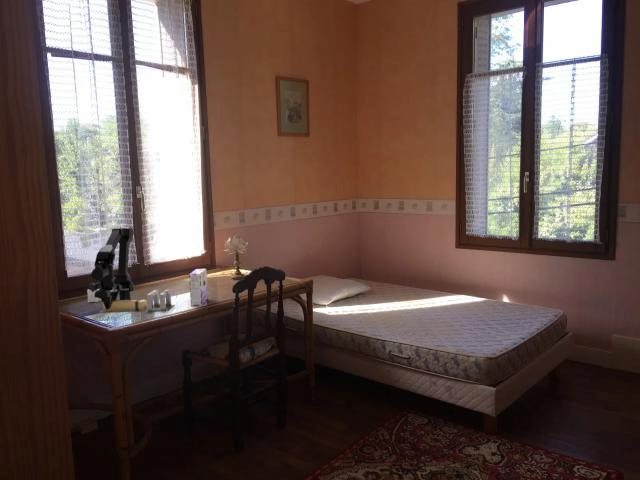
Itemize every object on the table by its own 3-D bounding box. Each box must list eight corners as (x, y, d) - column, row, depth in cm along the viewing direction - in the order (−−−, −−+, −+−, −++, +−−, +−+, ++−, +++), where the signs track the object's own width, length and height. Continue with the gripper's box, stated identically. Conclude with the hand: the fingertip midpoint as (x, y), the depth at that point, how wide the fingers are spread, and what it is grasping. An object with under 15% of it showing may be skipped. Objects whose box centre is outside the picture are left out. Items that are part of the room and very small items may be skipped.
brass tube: (106, 308, 264) (106, 300, 263) (147, 307, 263) (146, 299, 263) (103, 310, 260) (102, 302, 259) (144, 309, 259) (143, 301, 259)
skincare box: (97, 304, 278) (96, 290, 277) (87, 303, 280) (86, 289, 279) (105, 301, 284) (104, 287, 283) (96, 300, 286) (95, 287, 285)
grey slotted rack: (108, 308, 268) (106, 290, 267) (175, 306, 267) (174, 289, 266) (97, 314, 256) (96, 296, 255) (168, 313, 255) (167, 294, 254)
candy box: (197, 299, 281) (195, 268, 279) (208, 299, 281) (206, 268, 279) (190, 306, 268) (188, 273, 266) (202, 305, 268) (200, 273, 265)
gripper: (99, 273, 269) (101, 303, 271) (82, 280, 250) (84, 313, 252) (121, 272, 269) (123, 302, 271) (105, 279, 250) (108, 312, 252)
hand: (110, 307), depth 261 cm, fingers open, 6 cm apart
